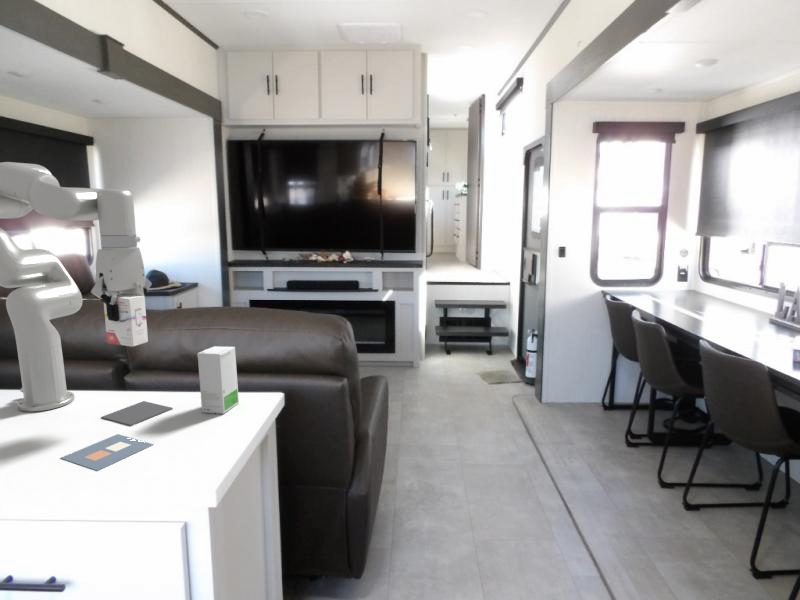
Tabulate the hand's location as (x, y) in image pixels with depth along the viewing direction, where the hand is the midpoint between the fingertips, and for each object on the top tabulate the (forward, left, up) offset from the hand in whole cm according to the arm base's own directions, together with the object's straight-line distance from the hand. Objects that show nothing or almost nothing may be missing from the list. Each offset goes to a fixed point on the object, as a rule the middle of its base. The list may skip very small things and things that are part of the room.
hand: (125, 317), depth 128 cm
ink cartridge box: (0, 0, -7) cm, 7 cm away
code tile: (+12, -16, -25) cm, 32 cm away
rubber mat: (-1, +1, -25) cm, 25 cm away
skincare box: (+15, +13, -25) cm, 32 cm away
